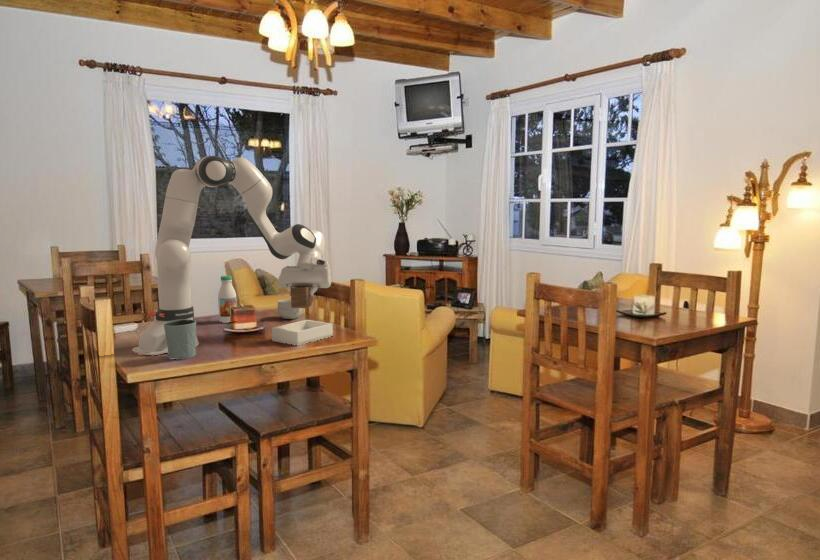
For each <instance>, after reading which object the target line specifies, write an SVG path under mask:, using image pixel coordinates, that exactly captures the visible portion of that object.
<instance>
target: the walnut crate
mask: <svg viewBox="0 0 820 560" xmlns="http://www.w3.org/2000/svg"><path fill="white" fill-rule="evenodd" d="M309 290H312V288H311V286H294V287H292V288H291V296H290V300H291V308H302V309H308V308H310V307H312V306H313V299H312V298H313V296H309V295H308V293H309Z"/></svg>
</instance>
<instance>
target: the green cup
mask: <svg viewBox="0 0 820 560" xmlns="http://www.w3.org/2000/svg"><path fill="white" fill-rule="evenodd" d="M164 329H165V335H166V340H167V346H168V354H167V355H168V358H169V357H170V358H177V359H183V358H191V357H193V358H195V357H196V356H195V355H196V354H197V350H196V347H197V346H196V343H195V342H196V336H197V320H196V319H194V320H191V319H180V320H173V321H168V322H166V323H164ZM194 356H195V357H194ZM191 359H192V358H191Z"/></svg>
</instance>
